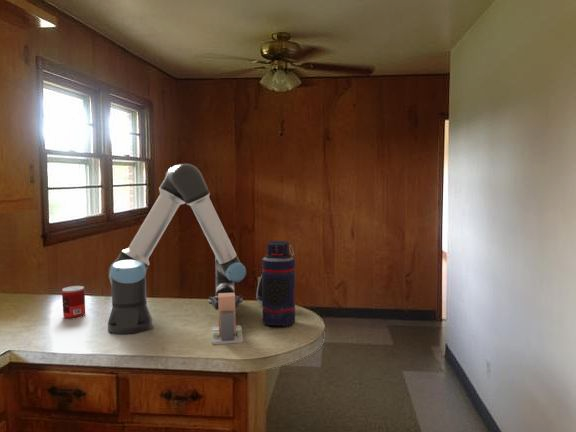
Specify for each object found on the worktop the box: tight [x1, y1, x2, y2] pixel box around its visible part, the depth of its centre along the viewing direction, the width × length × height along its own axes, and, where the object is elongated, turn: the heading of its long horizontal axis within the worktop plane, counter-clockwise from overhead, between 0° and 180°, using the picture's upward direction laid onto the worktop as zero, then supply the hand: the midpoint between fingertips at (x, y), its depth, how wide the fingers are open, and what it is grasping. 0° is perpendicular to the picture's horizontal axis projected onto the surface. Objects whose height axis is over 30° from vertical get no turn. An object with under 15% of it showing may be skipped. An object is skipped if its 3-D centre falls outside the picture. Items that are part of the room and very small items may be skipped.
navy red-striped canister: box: [261, 240, 296, 329], centre depth 169 cm, size 14×12×30 cm
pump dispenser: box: [255, 274, 262, 307], centre depth 192 cm, size 10×10×15 cm
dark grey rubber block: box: [221, 311, 234, 341], centre depth 151 cm, size 4×3×9 cm
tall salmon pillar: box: [213, 293, 243, 336], centre depth 156 cm, size 10×5×13 cm, turn 99°
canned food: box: [61, 285, 86, 320], centre depth 180 cm, size 8×8×11 cm
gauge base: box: [211, 324, 244, 345], centre depth 157 cm, size 10×15×2 cm, turn 9°
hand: (226, 311), depth 161 cm, fingers closed
